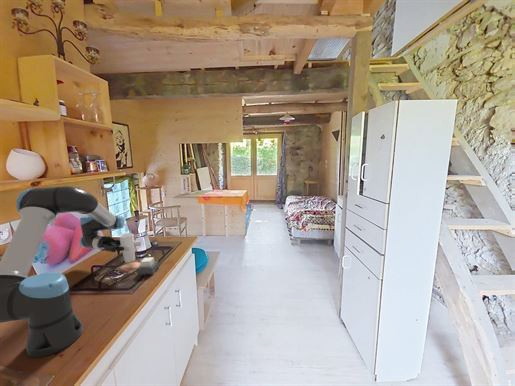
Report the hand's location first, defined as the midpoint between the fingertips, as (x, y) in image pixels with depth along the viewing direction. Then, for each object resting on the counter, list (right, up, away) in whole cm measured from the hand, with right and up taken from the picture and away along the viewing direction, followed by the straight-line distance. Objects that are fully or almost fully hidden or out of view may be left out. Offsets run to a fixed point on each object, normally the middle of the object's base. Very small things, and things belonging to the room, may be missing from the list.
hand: (134, 246), depth 131 cm
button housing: (+8, -14, 0) cm, 16 cm away
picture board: (-6, -14, 0) cm, 16 cm away
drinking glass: (-4, -9, +3) cm, 10 cm away
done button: (+8, -11, -1) cm, 14 cm away
